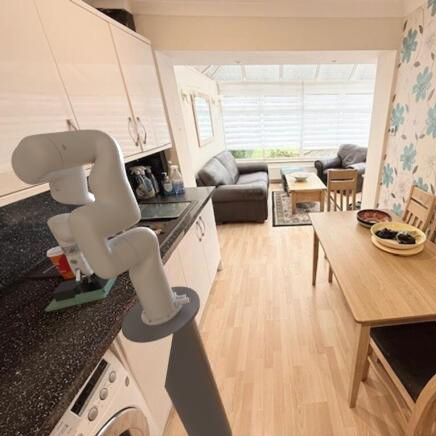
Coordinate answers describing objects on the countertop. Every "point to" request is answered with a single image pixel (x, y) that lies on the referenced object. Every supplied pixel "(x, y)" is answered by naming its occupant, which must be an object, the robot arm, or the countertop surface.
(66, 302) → the base board
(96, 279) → the black pad
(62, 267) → the paper cup
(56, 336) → the countertop surface
